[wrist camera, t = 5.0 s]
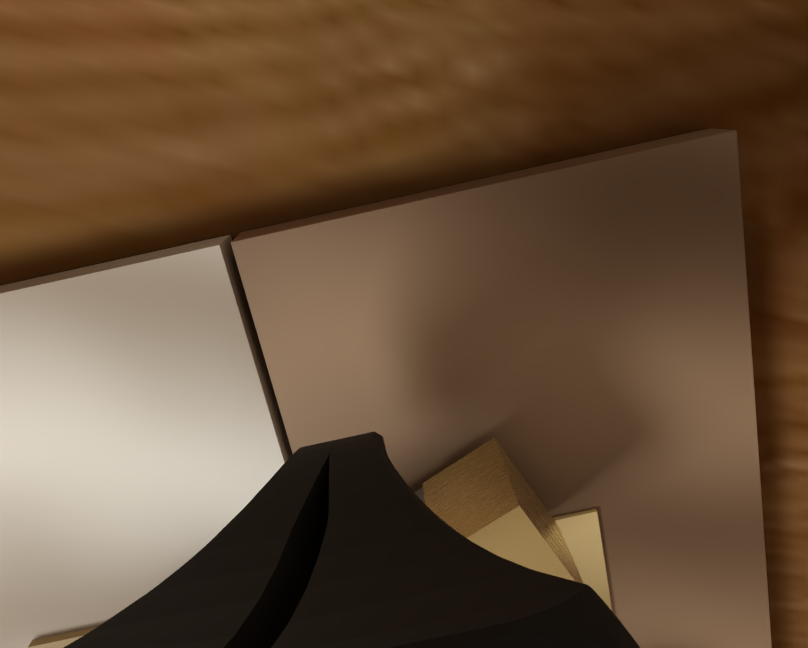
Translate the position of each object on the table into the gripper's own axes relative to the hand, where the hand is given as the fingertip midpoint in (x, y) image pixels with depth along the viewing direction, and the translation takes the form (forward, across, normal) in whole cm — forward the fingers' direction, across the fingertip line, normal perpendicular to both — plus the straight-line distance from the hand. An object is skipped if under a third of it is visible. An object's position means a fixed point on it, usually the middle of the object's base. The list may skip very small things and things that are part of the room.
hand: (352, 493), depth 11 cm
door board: (+3, +1, +3) cm, 5 cm away
